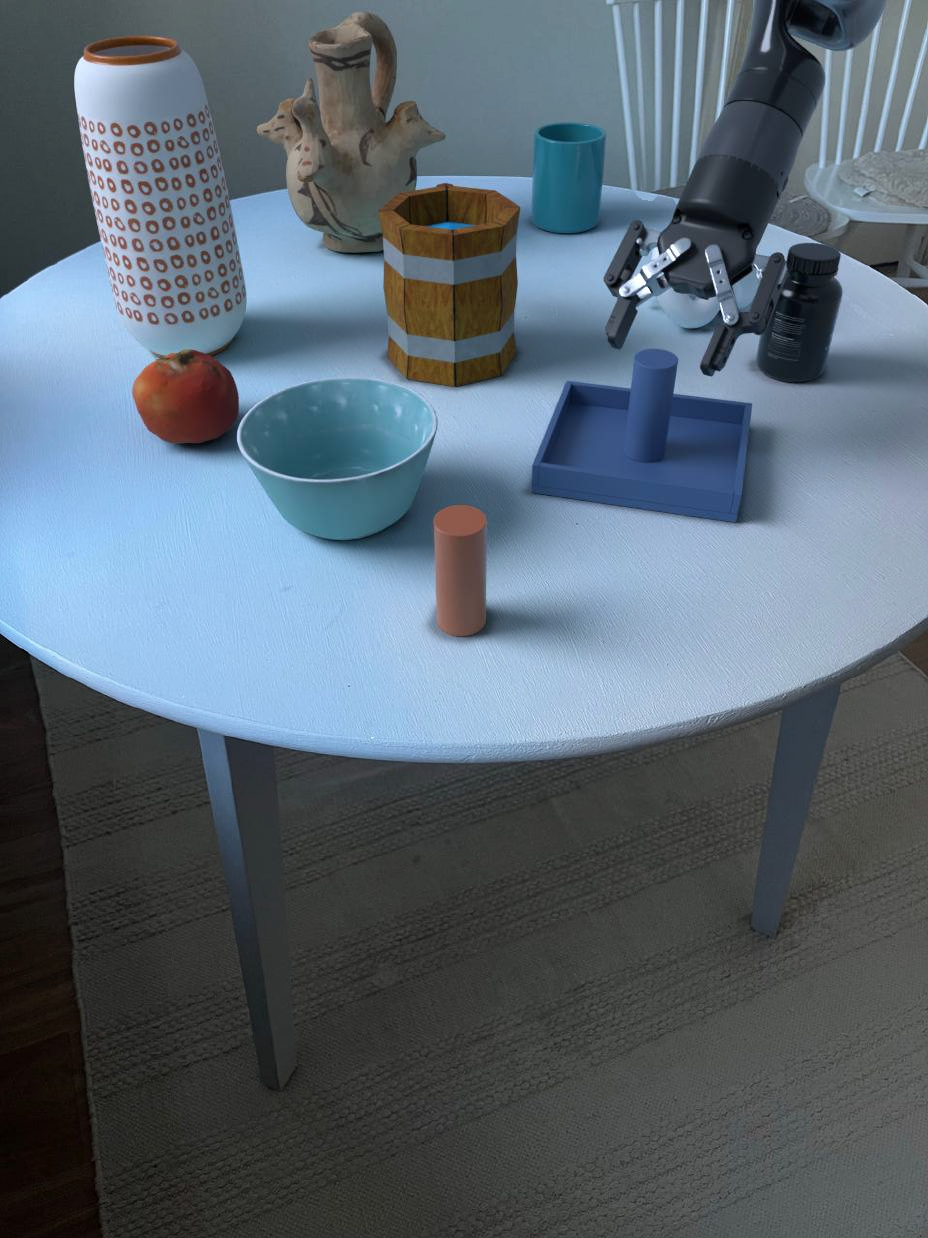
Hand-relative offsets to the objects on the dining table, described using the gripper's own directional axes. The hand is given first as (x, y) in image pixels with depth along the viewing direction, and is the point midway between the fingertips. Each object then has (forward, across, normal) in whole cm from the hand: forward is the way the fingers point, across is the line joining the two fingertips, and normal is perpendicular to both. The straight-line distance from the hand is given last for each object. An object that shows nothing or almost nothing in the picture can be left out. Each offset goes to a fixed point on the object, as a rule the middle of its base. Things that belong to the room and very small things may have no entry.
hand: (658, 358), depth 84 cm
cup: (-26, -36, +40) cm, 60 cm away
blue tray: (+7, 0, +6) cm, 10 cm away
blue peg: (+6, 0, +6) cm, 9 cm away
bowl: (+22, -17, -8) cm, 29 cm away
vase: (+12, -51, +2) cm, 52 cm away
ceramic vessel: (-10, -54, +24) cm, 60 cm away
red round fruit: (+21, -36, -7) cm, 43 cm away
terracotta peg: (+26, -1, -13) cm, 29 cm away
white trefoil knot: (-14, -10, +27) cm, 32 cm away
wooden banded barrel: (+1, -28, +13) cm, 31 cm away
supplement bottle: (-10, +4, +23) cm, 26 cm away
